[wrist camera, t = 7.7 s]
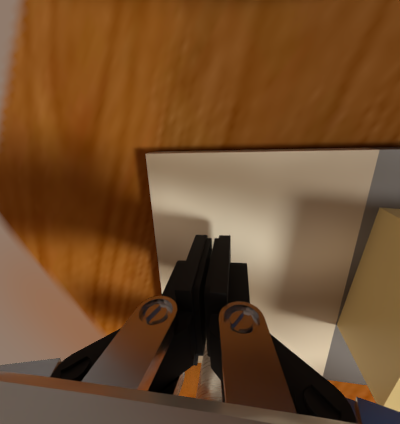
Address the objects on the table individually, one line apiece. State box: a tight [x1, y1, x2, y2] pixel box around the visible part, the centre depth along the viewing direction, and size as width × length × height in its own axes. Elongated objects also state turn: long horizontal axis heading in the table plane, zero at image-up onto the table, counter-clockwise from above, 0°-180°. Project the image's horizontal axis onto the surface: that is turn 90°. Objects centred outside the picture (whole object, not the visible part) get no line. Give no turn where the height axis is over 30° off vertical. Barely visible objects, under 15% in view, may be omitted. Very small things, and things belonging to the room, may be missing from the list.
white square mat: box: [146, 147, 400, 385], centre depth 12 cm, size 14×15×1 cm
